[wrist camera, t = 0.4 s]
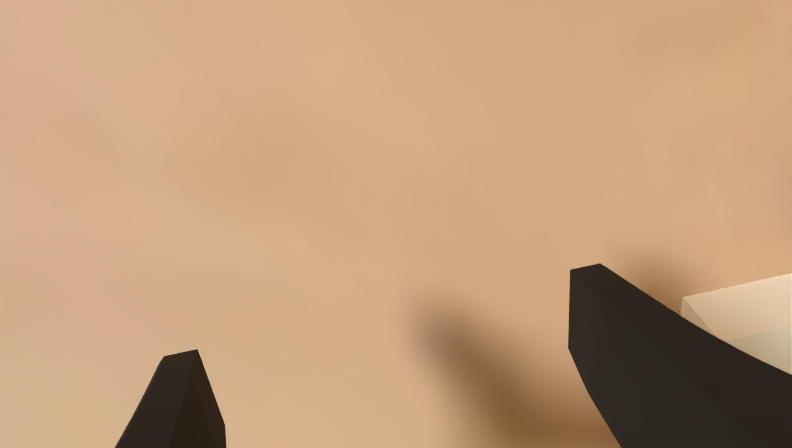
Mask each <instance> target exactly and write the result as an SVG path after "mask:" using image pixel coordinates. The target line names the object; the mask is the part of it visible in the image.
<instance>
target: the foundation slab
mask: <svg viewBox="0 0 792 448" xmlns="http://www.w3.org/2000/svg"><path fill="white" fill-rule="evenodd" d="M680 316H682V317H683V318H685V319H687V320H688V321H690V322H692V323H693V324H695V325H697V326H698V327H700V328H702V329H703V330H705V331H707V332H709V333H710V334H712V335H714V336H716V337H718V338H719V339H721V340H723V341H725V342H727V343H728V344H730V345H732V346H734V347H736V348H738V349H739V350H741V351H743V352H745V353H747V354H749V355H751V356H753V357H755V358H757V359H759V360H761V361H763V362H766V363H768V364H770V365H772V366H774V367H776V368H778V369H781V370H783V371H785V372H787V373H789V374H791V375H792V273H790V274H786V275H781V276H777V277H772V278H767V279H763V280H758V281H754V282H749V283H745V284H740V285H736V286H731V287H727V288H722V289H718V290H713V291H709V292H704V293H700V294H695V295H691V296H686V297H683V300H682V307H681V314H680Z"/></svg>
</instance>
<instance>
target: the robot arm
mask: <svg viewBox="0 0 792 448" xmlns="http://www.w3.org/2000/svg"><path fill="white" fill-rule="evenodd" d="M568 349H569V351H570V353H571V356H572V358H573V360H574V362H575V365H576V367H577V369H578V372H579V374H580V376H581V378H582V380H583V383H584V385H585V387H586V389H587V391H588V393H589V395H590V397H591V398H592V400H593V402H594V403H595V405H596V407H597V408H598V410H599V412H600V413H601V415H602V417H603V418H604V420H605V422H606V423H607V425H608V427H609V428H610V430H611V431H612V433H613V435H614V436H615V438H616V440H617V441H618V443H619V444H620V446H621V448H792V375H791V374H789V373H787V372H785V371H783V370H781V369H778V368H776V367H774V366H772V365H770V364H768V363H766V362H763V361H761V360H759V359H757V358H755V357H753V356H751V355H749V354H747V353H745V352H743V351H741V350H739V349H738V348H736V347H734V346H732V345H730V344H728V343H727V342H725V341H723V340H721V339H719V338H718V337H716V336H714V335H712V334H710V333H709V332H707V331H705V330H703V329H702V328H700V327H698V326H697V325H695V324H693V323H692V322H690V321H688V320H687V319H685V318H683V317H682V316H680V315H679V314H677V313H675V312H674V311H672V310H671V309H669V308H667V307H666V306H664V305H663V304H661V303H660V302H658V301H656V300H655V299H653V298H652V297H650V296H649V295H647V294H646V293H644V292H643V291H641V290H640V289H638V288H637V287H635V286H634V285H632V284H631V283H629V282H628V281H626V280H625V279H623V278H622V277H620V276H619V275H617V274H616V273H614V272H613V271H611V270H610V269H608V268H607V267H605V266H603V265H602V264H595V265H591V266H586V267H581V268H576V269H572V270H570V300H569V338H568ZM115 448H226V435H225V424H224V421H223V418H222V416H221V413H220V410H219V407H218V405H217V402H216V399H215V396H214V393H213V391H212V388H211V385H210V382H209V380H208V377H207V374H206V371H205V369H204V366H203V363H202V360H201V357H200V355H199V352H198V349H196V350H191V351H187V352H182V353H177V354H173V355H168V356H164V357H163V359H162V360H161V361H160V363H159V365H158V367H157V369H156V371H155V373H154V375H153V377H152V379H151V381H150V383H149V385H148V387H147V389H146V391H145V393H144V395H143V397H142V399H141V401H140V403H139V405H138V407H137V409H136V411H135V412H134V414H133V416H132V418H131V420H130V422H129V423H128V425H127V427H126V429H125V431H124V432H123V434H122V436H121V438H120V439H119V441H118V443H117V445H116V447H115Z"/></svg>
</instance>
